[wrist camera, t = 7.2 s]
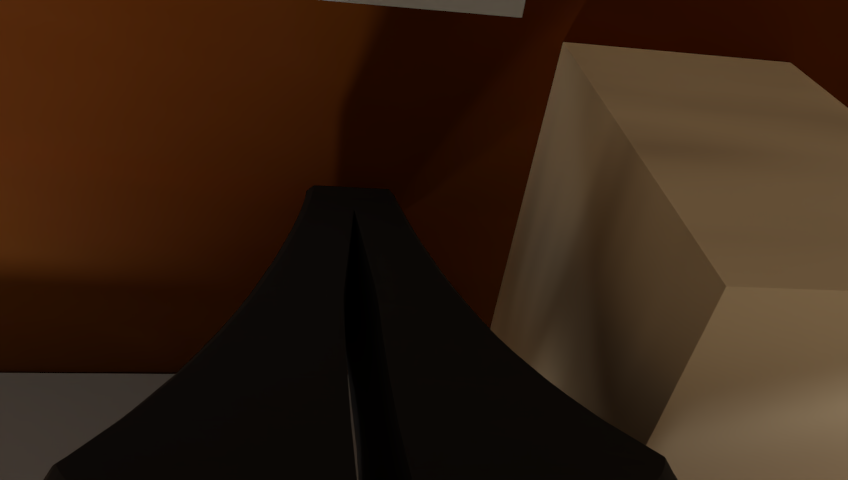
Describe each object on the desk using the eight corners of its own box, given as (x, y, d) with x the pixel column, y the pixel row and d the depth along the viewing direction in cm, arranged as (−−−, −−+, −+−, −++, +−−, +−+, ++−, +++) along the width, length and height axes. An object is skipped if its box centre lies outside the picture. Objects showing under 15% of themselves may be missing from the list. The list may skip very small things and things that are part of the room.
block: (654, 352, 16) (788, 625, 11) (483, 348, 15) (549, 636, 11) (788, 61, 12) (1088, 300, 7) (562, 40, 11) (727, 286, 6)
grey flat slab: (405, 411, 16) (417, 523, 14) (-71, 411, 15) (-143, 537, 12) (495, -144, 9) (545, -98, 7) (-371, -252, 8) (-643, -233, 6)
